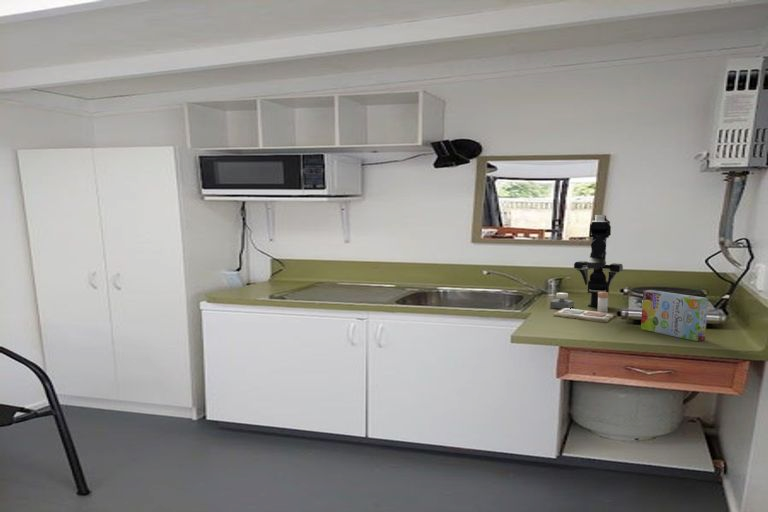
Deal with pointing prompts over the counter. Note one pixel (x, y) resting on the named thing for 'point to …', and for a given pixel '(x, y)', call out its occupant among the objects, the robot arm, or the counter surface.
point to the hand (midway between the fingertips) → (597, 285)
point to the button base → (561, 304)
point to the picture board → (585, 315)
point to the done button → (562, 296)
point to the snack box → (674, 314)
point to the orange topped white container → (602, 302)
